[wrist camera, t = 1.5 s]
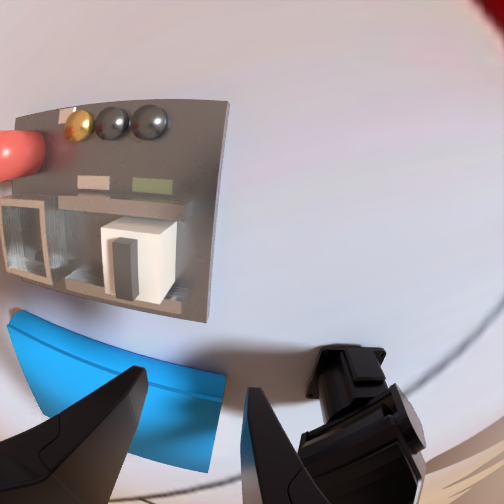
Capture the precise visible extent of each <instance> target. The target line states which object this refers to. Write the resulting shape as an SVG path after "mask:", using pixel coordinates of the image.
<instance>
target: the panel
mask: <svg viewBox="0 0 504 504" xmlns="http://www.w3.org/2000/svg"><path fill="white" fill-rule="evenodd" d="M229 107H230V104H229V103H228V101H215V100H192V99H154V100H131V101H117V102H105V103H96V104H88V105H80V106H73V107H67V108H61V109H55V110H50V111H45V112H40V113H35V114H31V115H27V116H22V117H18V118H16V122H15V130H37V131H39V132H40V133H41V134H42V136H43V138H44V141H45V148H46V150H45V158H44V162H43V164H42V166H41V168H40V170H39V171H38V172H37V173H36V174H34V175H31V176H26V177H21V178H17V179H12V194H11V195H7V196H4V197H1V198H0V236H1V243H2V250H3V256H4V262H5V268H6V272H9V273H12V274H15V275H19V276H21V277H22V280H23V281H26V282H29V283H32V284H36V285H39V286H42V287H46V288H49V289H52V290H56V291H59V292H63V293H67V294H70V295H74V296H78V297H82V298H86V299H90V300H94V301H98V302H102V303H106V304H110V305H115V306H119V307H124V308H128V309H133V310H138V311H142V312H147V313H152V314H157V315H163V316H168V317H173V318H179V319H185V320H191V321H197V322H203V323H206V322H207V319H208V316H209V305H210V291H211V277H212V264H213V252H214V240H215V229H216V218H217V208H218V198H219V189H220V179H221V171H222V162H223V153H224V145H225V137H226V130H227V122H228V115H229ZM125 215H127V216H136V217H146V218H155V219H164V220H173V221H177V236H176V263H175V282H174V284H173V285H172V287H171V288H170V290H169V291H168V293H167V294H166V296H165V297H164V299H163V300H162V302H161V303H160V304H155V303H150V302H145V301H140V300H134V301H133V302H132V301H127V300H122V299H118V298H116V295H111V294H106V293H105V284H104V274H103V262H102V245H101V227H103V226H105V225H107V224H109V223H111V222H113V221H115V220H117V219H119V218H121V217H123V216H125Z"/></svg>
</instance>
